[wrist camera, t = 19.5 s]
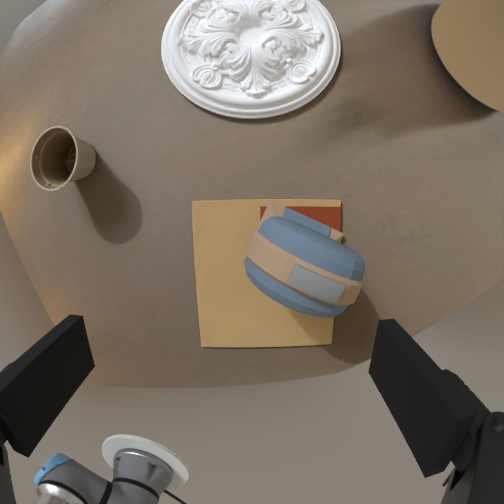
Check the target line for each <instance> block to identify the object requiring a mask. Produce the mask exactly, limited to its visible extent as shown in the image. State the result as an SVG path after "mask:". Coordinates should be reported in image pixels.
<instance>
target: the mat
mask: <svg viewBox="0 0 504 504" xmlns="http://www.w3.org/2000/svg"><path fill="white" fill-rule="evenodd" d="M270 200H271V201H273V202H276V203H278V204H280V205H282V206H285V207H287V208H289V209H291V210H294V211H296V212H298V213H300V214H303V215H305V216H307V217H309V218H311V219H314V220H316V221H318V222H320V223H322V224H324V225H327V226H329V227H331V228H333V229H335V230H337V231H339V232H340V224H341V200H321V199H248V200H206V201H192V225H193V245H194V262H195V277H196V291H197V303H198V315H199V326H200V337H201V347H286V346H309V345H326V344H331V343H332V334H333V325H334V317H332V318H321V317H315V316H310V315H306V314H303V313H300V312H297V311H295V310H293V309H290V308H288V307H286V306H284V305H282V304H280V303H278V302H277V301H275V300H273V299H272V298H270V297H269V296H267V295H266V294H264V293H263V292H262V291H260V290H259V289H258V288H257V287H256V286H255V285H254V284H253V283H252V282H251V281H250V279H249V278H248V277H247V273H246V268H245V261H243V260H244V258H245V256H246V252H245V249H246V247H247V245H248V242H249V240H250V238H251V235H252V233H253V232H254V231H255V230H257V228H258V226H259V224H260V221H261V219H262V217H263V214H264V212H265V210H266V207H267V205H268V203H269V201H270Z"/></svg>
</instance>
